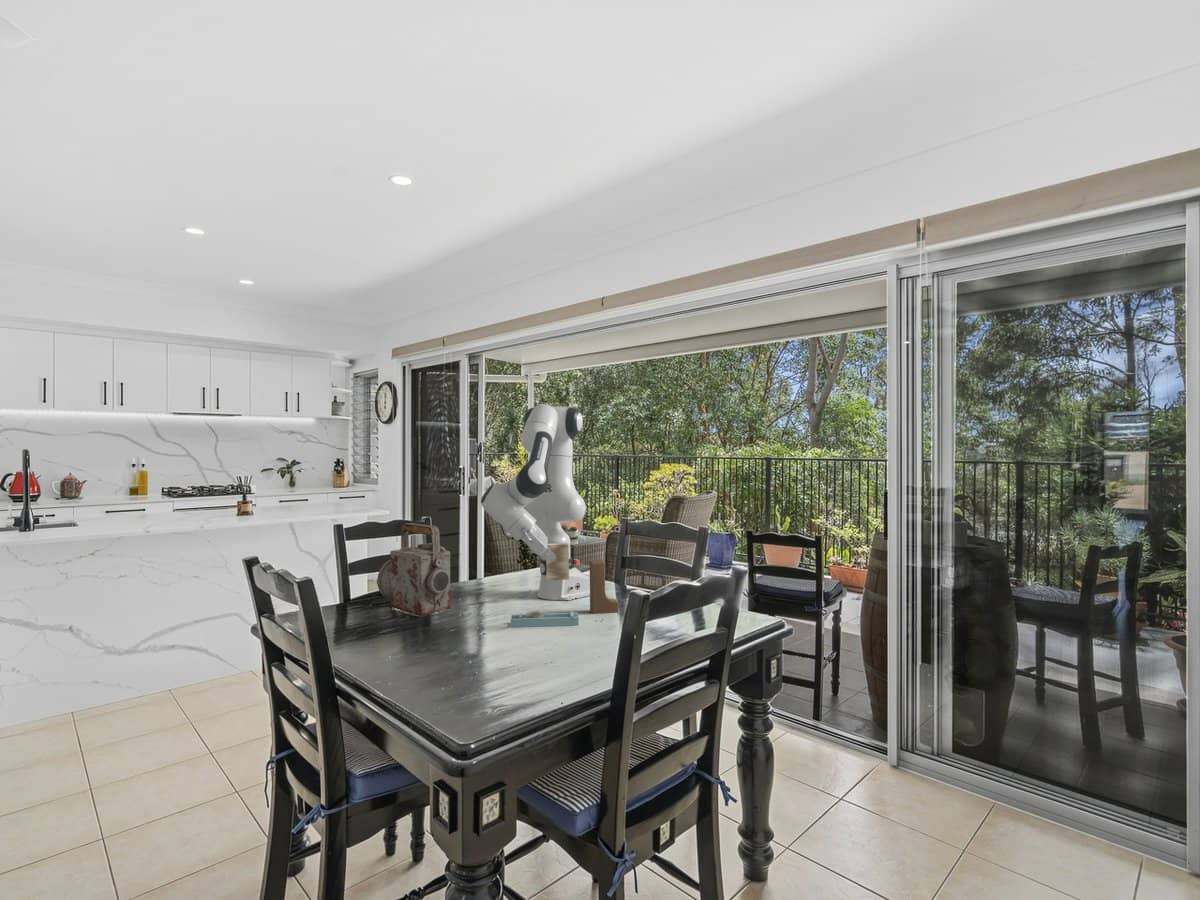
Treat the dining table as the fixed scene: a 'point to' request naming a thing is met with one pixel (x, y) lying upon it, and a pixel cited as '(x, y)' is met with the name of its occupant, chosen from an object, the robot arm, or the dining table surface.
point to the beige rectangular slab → (558, 562)
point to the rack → (545, 621)
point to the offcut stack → (534, 614)
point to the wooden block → (600, 590)
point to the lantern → (417, 574)
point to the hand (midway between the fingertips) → (554, 557)
